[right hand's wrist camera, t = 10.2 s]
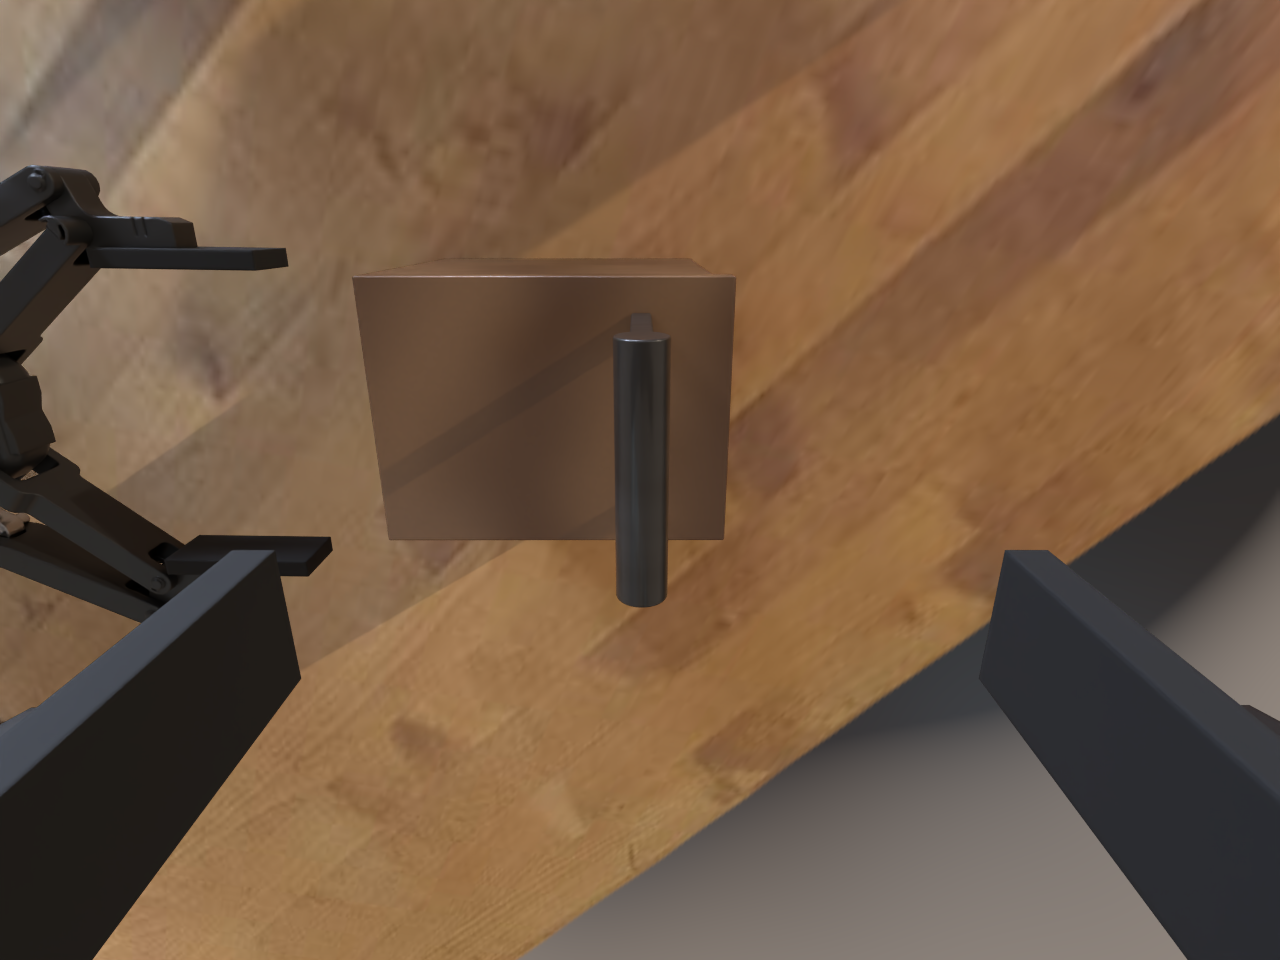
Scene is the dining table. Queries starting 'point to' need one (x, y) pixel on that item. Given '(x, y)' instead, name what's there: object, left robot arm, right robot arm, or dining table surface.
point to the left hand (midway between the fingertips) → (298, 418)
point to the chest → (552, 266)
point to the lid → (553, 409)
